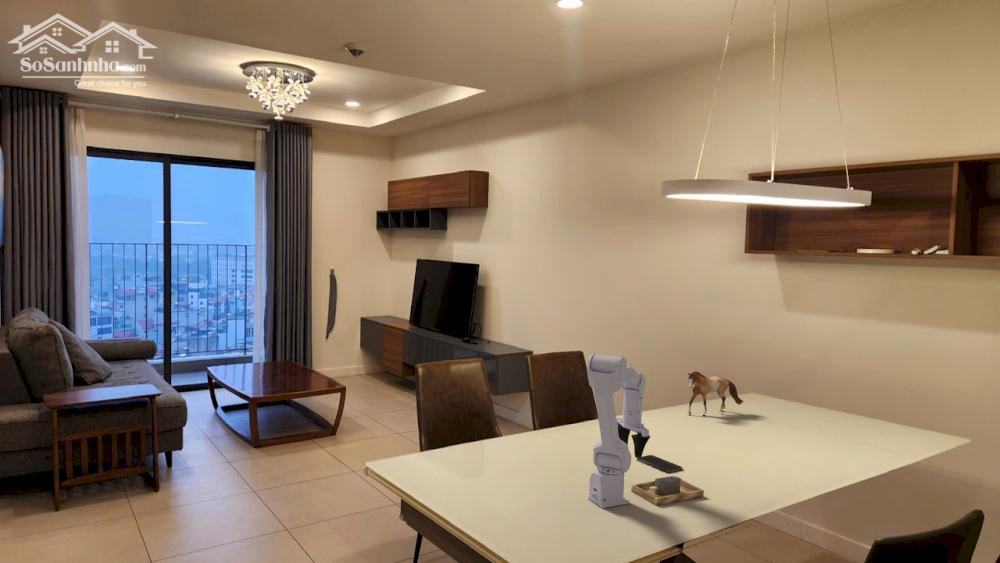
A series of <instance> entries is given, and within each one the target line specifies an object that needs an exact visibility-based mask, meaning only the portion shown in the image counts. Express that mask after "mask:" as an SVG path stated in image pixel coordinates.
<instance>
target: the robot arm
mask: <svg viewBox="0 0 1000 563" xmlns="http://www.w3.org/2000/svg"><path fill="white" fill-rule="evenodd" d="M586 372H587V379H588V384H589V386H590V388H592V389H593V391H594V399H595V406H596V411H597V418H598V425H599V432H600V438H599V439H598V440H596V441H595V444H594V446H593V448H592V450H593V453H592V456H593V457H592V462H593V464H594V466H595V467H596V471H595V472H592V473H591V474H590V478H589V488H588V489H589V495H588V496H587V500H590V501H591V502H593V503H594V504H596V505H597V506H599V507H600V508H602V509H606V508H612V507H615V506H622V505H628V504H630V500H628V499H626V498H624V489H625V488H624V487H625V473H627V472H628V471H629V470H630V468H631V465H632V453H631V452H630V449H629V438H630V433H631V432H634V433H635V434H631V438H632V441H633V448H634V449H633V450H634V453H633V454H634V458H636V459H637V458H638V457H643V453H644V450H645V447H646V446H647V443H648V442H649V440H650V438H651V435H650V429H648V428H646V426H645V424H644V423H643V422H642V414H643V413H642V412H643V411H642V410H643V397H644V394H645V388H646V380H647V379H646V376H645V374H643V373H642V372H638V371H636V369H635V368H634V367H632V364H631V363H628V362H627V360H626V358H625V357H624V356H612V355H604V354H597V353H592V354H591V355H590V356H589V358H588V361H587V364H586ZM621 389H622V390H623V400H622V401H623V402H622V403H623V404H622V405H623V406H622V417H618V418H617V415H616V414H617V413H616V408H615V399H614V394H615V393H616V392H619V391H620V390H621Z"/></svg>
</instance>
